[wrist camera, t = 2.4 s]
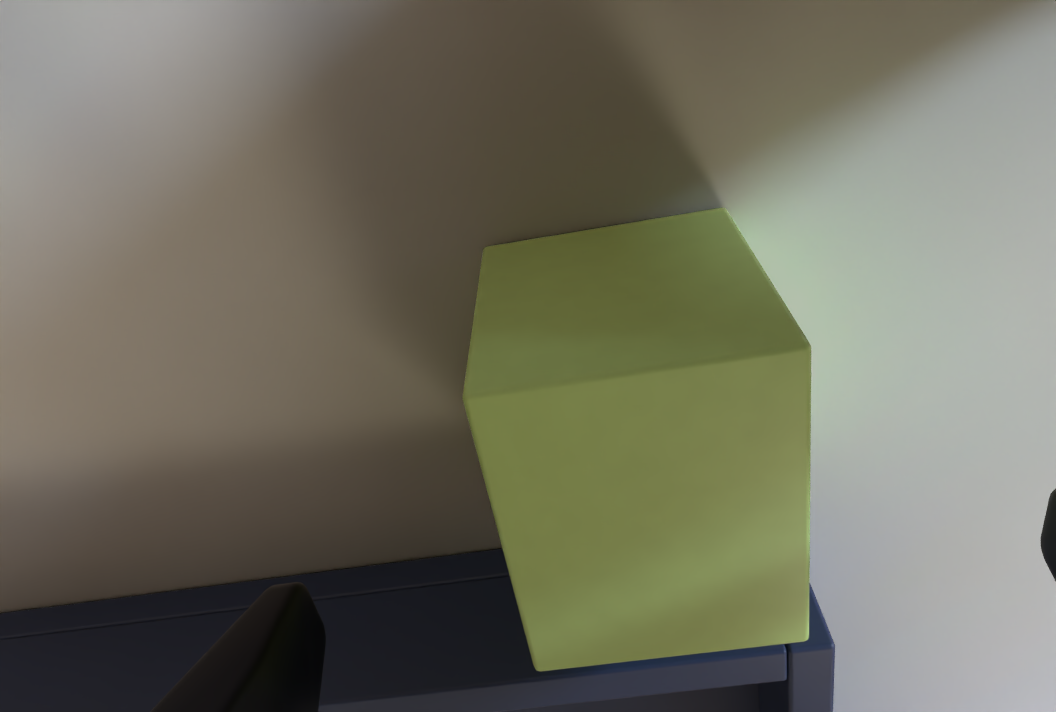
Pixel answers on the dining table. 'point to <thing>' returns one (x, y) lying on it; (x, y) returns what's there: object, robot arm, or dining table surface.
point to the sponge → (643, 440)
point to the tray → (390, 651)
